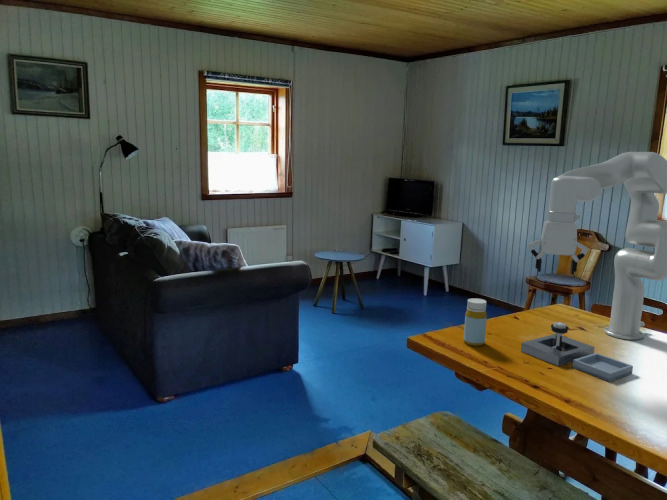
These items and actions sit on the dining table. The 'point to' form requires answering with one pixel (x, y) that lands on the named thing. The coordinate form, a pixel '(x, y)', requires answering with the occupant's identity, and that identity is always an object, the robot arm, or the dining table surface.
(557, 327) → the push button
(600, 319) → the dining table surface
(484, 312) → the bottle
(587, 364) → the tray
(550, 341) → the block
